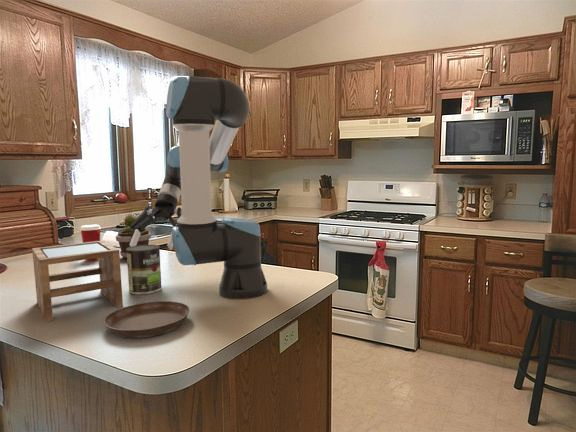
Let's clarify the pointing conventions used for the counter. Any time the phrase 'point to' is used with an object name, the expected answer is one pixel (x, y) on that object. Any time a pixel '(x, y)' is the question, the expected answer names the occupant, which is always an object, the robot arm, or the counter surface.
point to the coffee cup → (90, 235)
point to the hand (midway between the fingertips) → (150, 247)
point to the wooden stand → (77, 275)
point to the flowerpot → (125, 236)
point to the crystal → (111, 238)
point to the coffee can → (144, 269)
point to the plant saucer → (146, 319)
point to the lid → (72, 250)
